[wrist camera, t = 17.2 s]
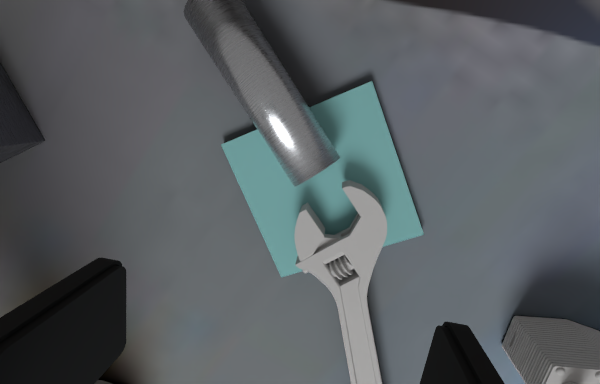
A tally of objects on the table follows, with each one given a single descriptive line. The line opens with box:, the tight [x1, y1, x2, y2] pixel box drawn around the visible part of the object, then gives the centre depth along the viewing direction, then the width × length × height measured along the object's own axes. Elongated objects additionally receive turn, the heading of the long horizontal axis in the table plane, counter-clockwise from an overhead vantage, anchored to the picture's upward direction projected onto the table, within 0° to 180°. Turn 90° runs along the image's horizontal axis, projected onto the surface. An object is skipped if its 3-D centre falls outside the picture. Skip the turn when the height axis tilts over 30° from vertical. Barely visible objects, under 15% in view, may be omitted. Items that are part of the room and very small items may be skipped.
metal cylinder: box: [184, 0, 340, 187], centre depth 20 cm, size 3×3×12 cm
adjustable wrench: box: [294, 180, 387, 384], centre depth 25 cm, size 25×6×2 cm, turn 7°
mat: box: [221, 81, 424, 277], centre depth 23 cm, size 11×11×1 cm
